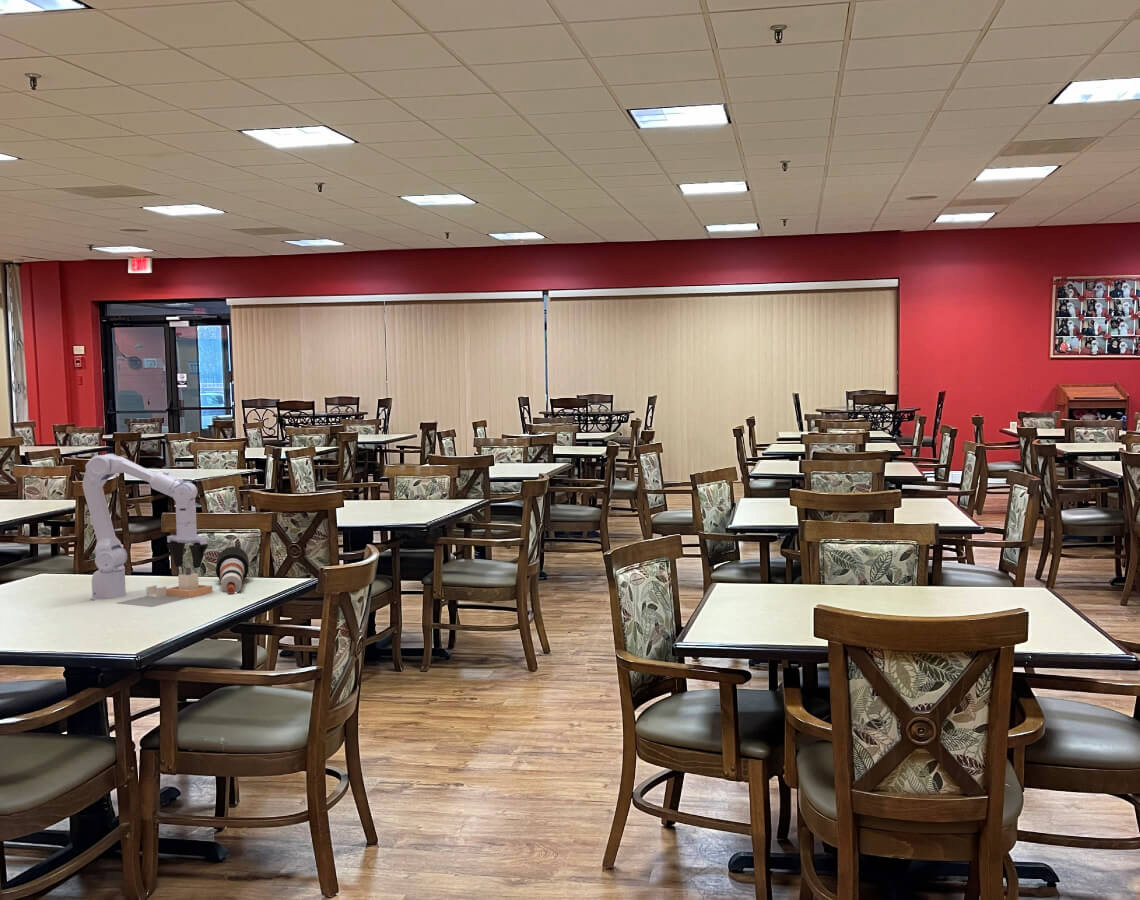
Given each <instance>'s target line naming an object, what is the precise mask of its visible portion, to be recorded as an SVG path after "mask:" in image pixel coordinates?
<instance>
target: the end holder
mask: <svg viewBox="0 0 1140 900" xmlns="http://www.w3.org/2000/svg"><path fill="white" fill-rule="evenodd" d="M166 593H167V596H177V597H187V598H188V599H191V597H192V598H196V597H199V595H200V596H204V595H208V594H211V593H214V591H213V585H210V584H209V585H208V584H199V588H197V589H193V590H181V589H179V585H177V586H171V587H168V588H167V587H166ZM207 593H208V594H207ZM203 594H204V595H203ZM195 596H196V597H195Z"/></svg>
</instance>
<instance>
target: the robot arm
mask: <svg viewBox="0 0 1140 900" xmlns="http://www.w3.org/2000/svg"><path fill="white" fill-rule="evenodd" d="M84 467H85V471H84V472H85V473H84V475H83V479H82V490H83V494H84V498H85V501H86V505H87V509H88V511H89V516H90V520H91V523H92V527H93V530H94V535H95V538H96V543H95V544H96V545H95V548H94V550H95V551H94V552H95V558H94V563H95V567H97V569H98V570H96V571H94V573H93V574H92V577H91V595H92V597H91V598H89V600H90V601H98V600H102V599H107V600H108V599H117V598H118V599H119V598H123V597H126V596H127V592H126V569H125V564H126V562H127V560H128V553H127V550H126V549H125V548H124V547H123V545H122V542H121V540H120V539H119V538H118V537H117V536H116V533H115V528H114V525H113V522H112V521H113V520H112V518H111V514H110V510H109V506H108V502H107V499H106V494H105V492H104V485H105V484H106V483H107V481H108V480H109V479H110V478H111V477H112V476H114V475H115V474H122V473H123V474H126V475H129V476H131V477H134V478H137V479H140V480H141V481H145V482H147V483H149V485H150V487H151V489H153V490H155V491H157V492H160V493H162V494H164V495H167V496H169V497H170V498H172V499H173V500H174V501H175V520H176V521H175V522H176V523H175V524H176V527H175V529H176V535H174V534H173V535H172V534H171V535H167V536H166V538H167V540H166V541H167V543H168V544H166V549H168V551H169V552H170V554H171V557H172V559H173V562H174V565H175V567H182V566H183V565H184V564H183V561H184V549H185V546H186V544H190V545H188V548H189V550H190V552H191V557H192V566H193V569H198V568H201V566H202V562H203V559H204V555H205V553H206V550H207V548H208V546H209V545H208V538H207V537H205V536H204V537H203V536H200V535H198V533H197V532H198V531H197V530H198V529H197V507H196V497H198V492H199V491H198V488H197V486H196V484H194V483H192V482H191V481H184V479H183V478H177V477H174V476H172V475H170V472H168V471H166V470H165V471H157V472H153V471H152V470H149V469H147V468H146V467H143V466H142V465H139V464H137V463H135V462H133V461H131V460H129V459H127V458H125V457H123V456H119V455H116V454H115V453H106V454H99V455H98V454H97V455H94V456H92V457H91V458H90V459H89V460H88V462H87V463H86V464H85V466H84Z"/></svg>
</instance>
